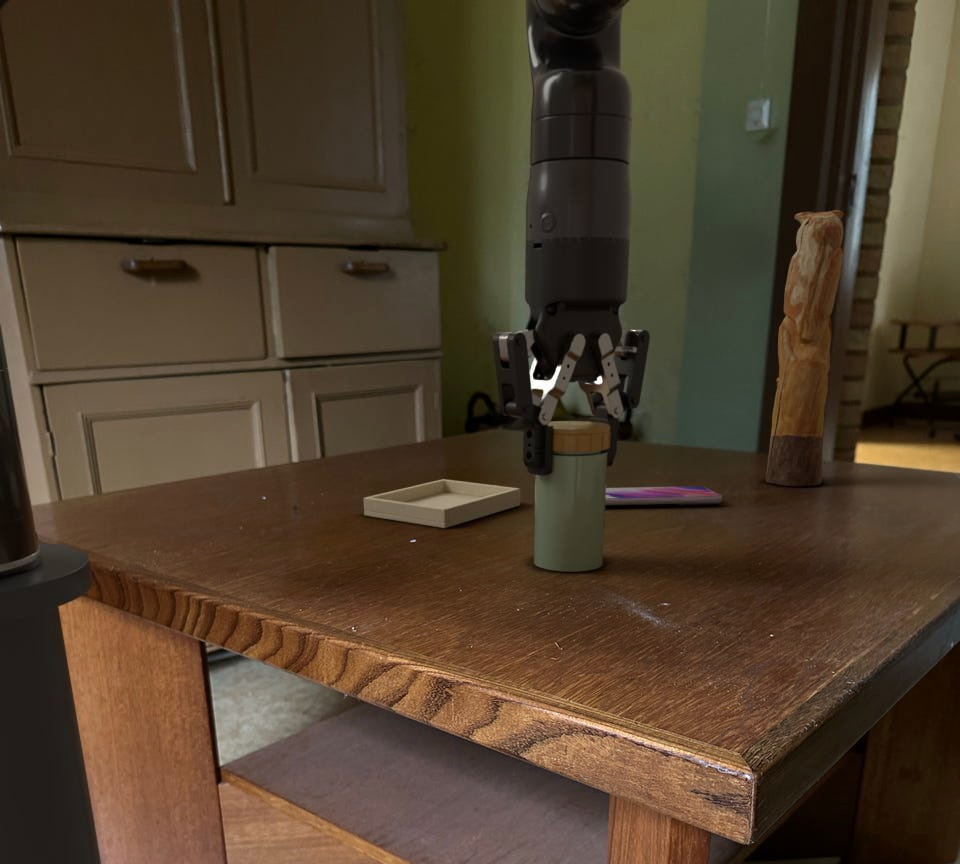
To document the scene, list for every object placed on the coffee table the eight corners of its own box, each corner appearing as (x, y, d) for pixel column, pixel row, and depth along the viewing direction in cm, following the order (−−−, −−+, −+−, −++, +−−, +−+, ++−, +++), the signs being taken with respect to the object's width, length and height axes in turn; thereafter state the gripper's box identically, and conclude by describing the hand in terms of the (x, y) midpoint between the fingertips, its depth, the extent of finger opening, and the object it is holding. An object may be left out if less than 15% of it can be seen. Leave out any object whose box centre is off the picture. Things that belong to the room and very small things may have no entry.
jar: (581, 575, 70) (586, 439, 67) (520, 565, 73) (522, 433, 70) (614, 560, 75) (621, 431, 71) (555, 551, 78) (559, 427, 74)
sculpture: (813, 474, 114) (845, 211, 104) (828, 488, 105) (864, 201, 95) (759, 473, 115) (785, 212, 105) (768, 486, 106) (798, 203, 96)
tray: (444, 528, 86) (444, 509, 85) (364, 515, 92) (363, 497, 91) (520, 505, 96) (520, 488, 96) (443, 495, 102) (443, 479, 101)
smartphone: (570, 488, 101) (702, 485, 102) (570, 496, 101) (702, 493, 102) (582, 499, 94) (724, 496, 95) (582, 507, 94) (724, 504, 95)
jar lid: (625, 448, 70) (626, 425, 70) (568, 454, 67) (568, 431, 67) (574, 440, 75) (575, 419, 74) (518, 446, 72) (518, 424, 71)
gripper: (613, 243, 73) (604, 456, 78) (466, 235, 65) (468, 472, 70) (684, 237, 67) (669, 467, 73) (533, 227, 59) (529, 486, 65)
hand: (570, 469), depth 72 cm, fingers closed on jar lid, 5 cm apart
